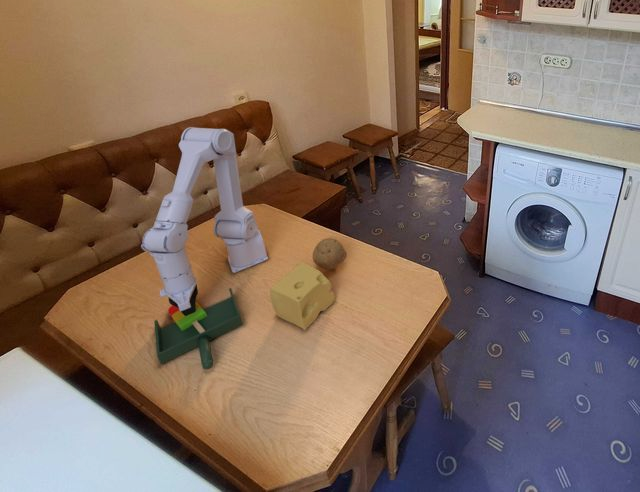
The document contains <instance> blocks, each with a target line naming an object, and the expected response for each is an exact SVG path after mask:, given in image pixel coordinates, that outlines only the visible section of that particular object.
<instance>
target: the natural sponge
mask: <svg viewBox="0 0 640 492" xmlns="http://www.w3.org/2000/svg"><path fill="white" fill-rule="evenodd" d="M346 258H347V250H346V248H344V246H343V244H342V243H341V242H340V241H339V240H338V239H336V238H333V237H326V238H323V239H321V240H320V241H319V242H317V244H316V245H315V247H314V249H313V252H312V261H313V263H314V264H315V265H316V266H318V267H320V268H321V269H323V270H326V271H332V270H334V269H336V268H337V267H338V266H339V265H340V264H342V263H343V262H344V261H345V260H346Z"/></svg>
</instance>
